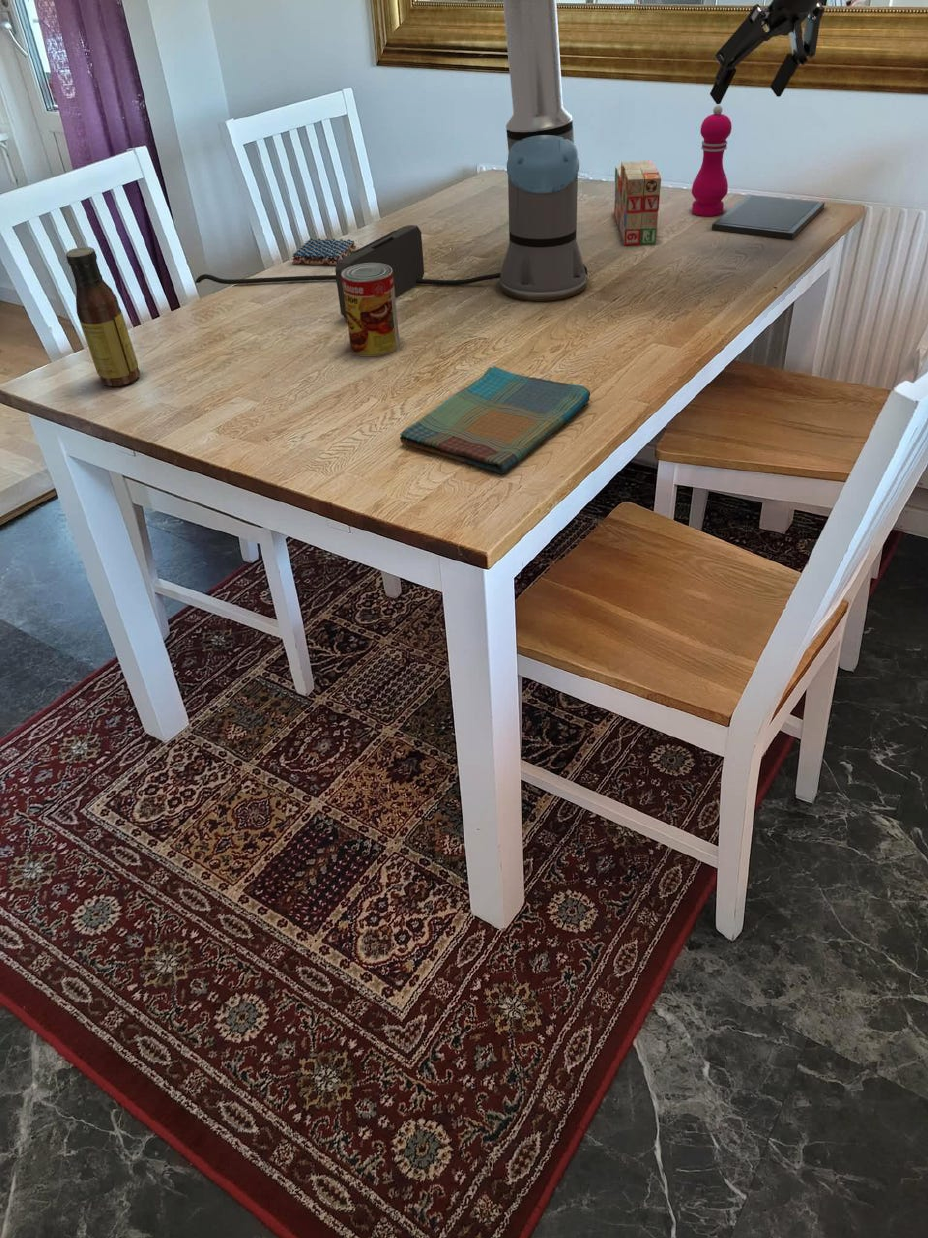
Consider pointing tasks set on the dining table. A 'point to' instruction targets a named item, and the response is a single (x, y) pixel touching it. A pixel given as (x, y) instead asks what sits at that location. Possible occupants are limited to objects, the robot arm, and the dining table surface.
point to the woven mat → (323, 251)
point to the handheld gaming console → (389, 259)
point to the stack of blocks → (637, 201)
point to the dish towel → (496, 419)
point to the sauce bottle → (102, 321)
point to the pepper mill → (712, 165)
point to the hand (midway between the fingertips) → (745, 95)
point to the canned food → (371, 309)
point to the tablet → (768, 216)
